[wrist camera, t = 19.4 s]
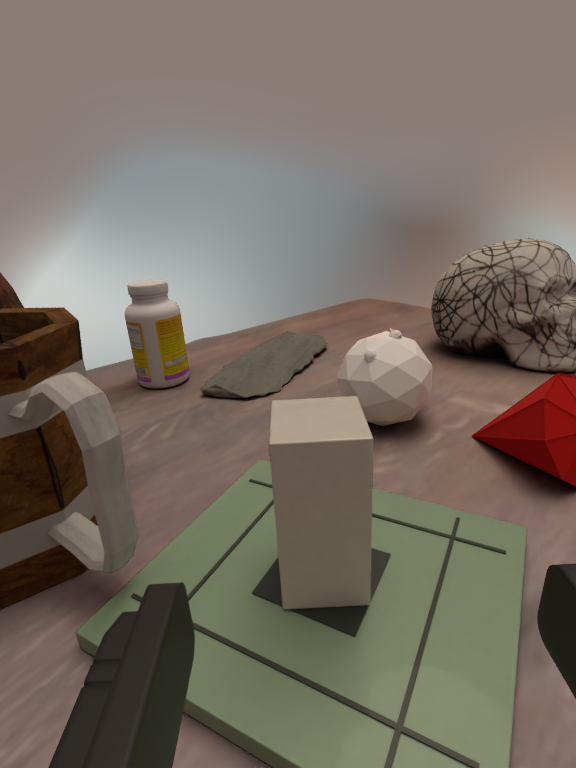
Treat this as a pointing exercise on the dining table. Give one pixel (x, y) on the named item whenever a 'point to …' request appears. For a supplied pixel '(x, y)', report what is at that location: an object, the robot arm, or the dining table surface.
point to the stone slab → (265, 366)
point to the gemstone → (540, 429)
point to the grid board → (348, 637)
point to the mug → (56, 460)
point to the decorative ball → (387, 377)
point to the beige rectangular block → (322, 501)
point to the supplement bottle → (156, 335)
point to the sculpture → (511, 305)
